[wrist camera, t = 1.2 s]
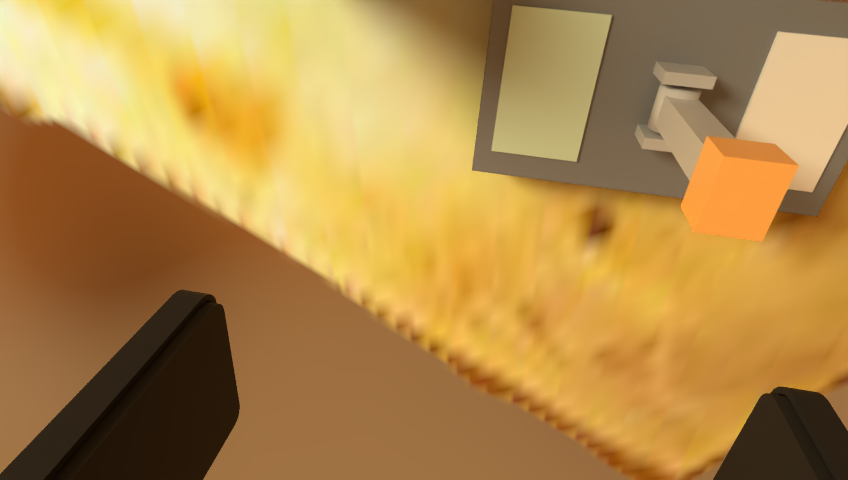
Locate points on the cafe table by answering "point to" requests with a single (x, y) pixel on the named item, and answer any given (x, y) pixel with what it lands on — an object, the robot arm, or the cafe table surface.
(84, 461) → the robot arm
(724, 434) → the cafe table surface
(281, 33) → the cafe table surface
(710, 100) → the switch box
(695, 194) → the lever
